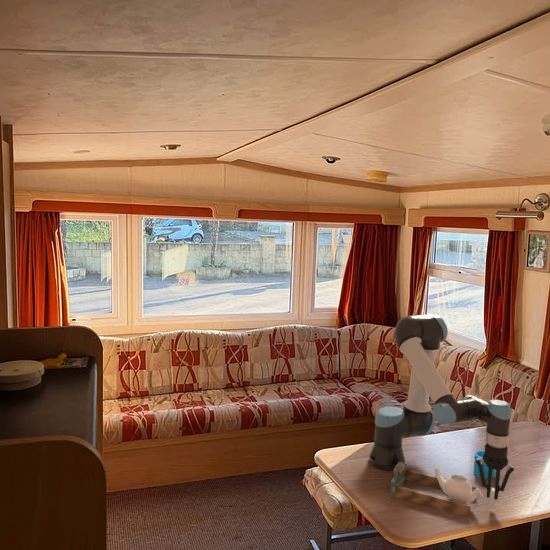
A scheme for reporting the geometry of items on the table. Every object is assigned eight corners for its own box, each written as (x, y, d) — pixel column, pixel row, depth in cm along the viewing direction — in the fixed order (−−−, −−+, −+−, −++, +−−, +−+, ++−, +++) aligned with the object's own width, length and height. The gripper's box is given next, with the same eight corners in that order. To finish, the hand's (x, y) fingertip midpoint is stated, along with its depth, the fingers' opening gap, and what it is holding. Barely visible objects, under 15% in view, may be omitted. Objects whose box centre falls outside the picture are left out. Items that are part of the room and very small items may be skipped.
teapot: (476, 518, 189) (478, 493, 188) (426, 495, 204) (428, 472, 203) (489, 509, 195) (491, 484, 194) (440, 487, 210) (441, 465, 209)
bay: (388, 495, 203) (389, 472, 202) (400, 476, 218) (401, 455, 217) (469, 517, 190) (471, 493, 189) (476, 495, 205) (477, 473, 204)
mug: (485, 480, 217) (486, 461, 216) (469, 471, 224) (470, 453, 223) (505, 474, 223) (506, 455, 222) (488, 466, 230) (490, 447, 229)
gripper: (475, 443, 191) (471, 506, 194) (515, 452, 185) (510, 516, 188) (478, 436, 198) (473, 496, 200) (517, 444, 192) (511, 506, 194)
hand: (491, 506), depth 194 cm, fingers closed
